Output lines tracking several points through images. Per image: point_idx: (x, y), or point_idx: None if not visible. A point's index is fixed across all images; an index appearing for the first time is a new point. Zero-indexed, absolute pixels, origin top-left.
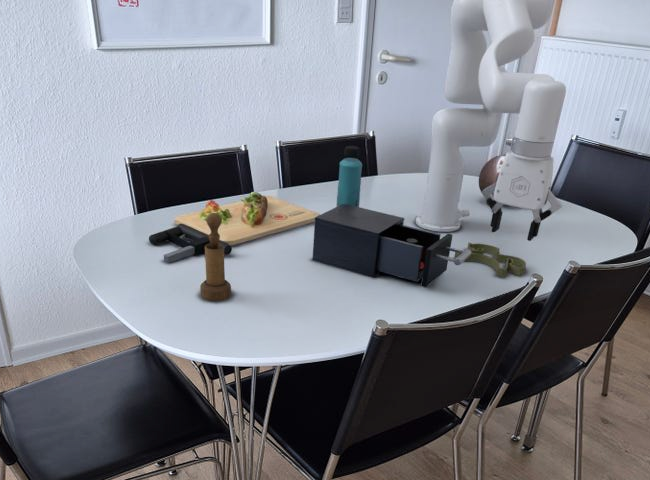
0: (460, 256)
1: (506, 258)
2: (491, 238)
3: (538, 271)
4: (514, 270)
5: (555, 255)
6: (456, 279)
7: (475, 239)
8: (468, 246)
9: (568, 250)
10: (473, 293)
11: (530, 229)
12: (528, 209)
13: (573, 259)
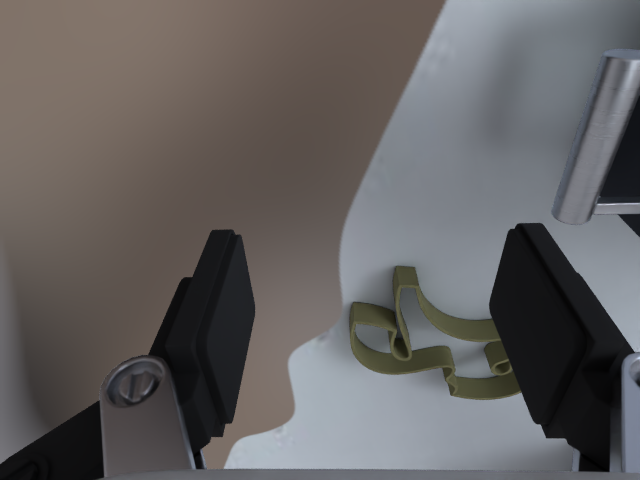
0: (623, 105)
1: (417, 362)
2: (484, 442)
3: (320, 352)
4: (373, 313)
5: (319, 435)
6: (541, 164)
7: (523, 423)
8: None
9: (305, 463)
10: (454, 85)
11: (208, 288)
12: (202, 470)
13: (278, 436)
